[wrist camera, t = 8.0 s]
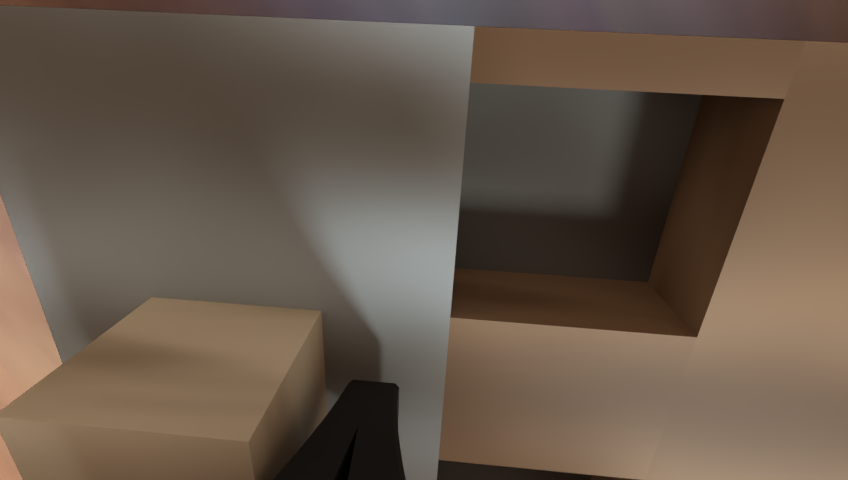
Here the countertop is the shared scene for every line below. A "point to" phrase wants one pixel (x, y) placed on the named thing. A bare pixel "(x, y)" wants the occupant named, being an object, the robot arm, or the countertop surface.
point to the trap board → (464, 223)
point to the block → (176, 397)
